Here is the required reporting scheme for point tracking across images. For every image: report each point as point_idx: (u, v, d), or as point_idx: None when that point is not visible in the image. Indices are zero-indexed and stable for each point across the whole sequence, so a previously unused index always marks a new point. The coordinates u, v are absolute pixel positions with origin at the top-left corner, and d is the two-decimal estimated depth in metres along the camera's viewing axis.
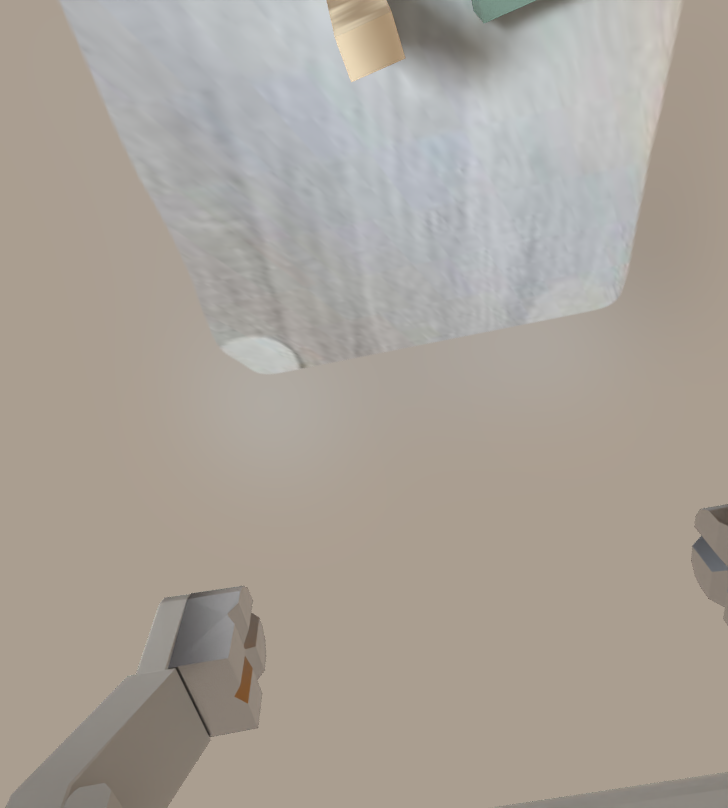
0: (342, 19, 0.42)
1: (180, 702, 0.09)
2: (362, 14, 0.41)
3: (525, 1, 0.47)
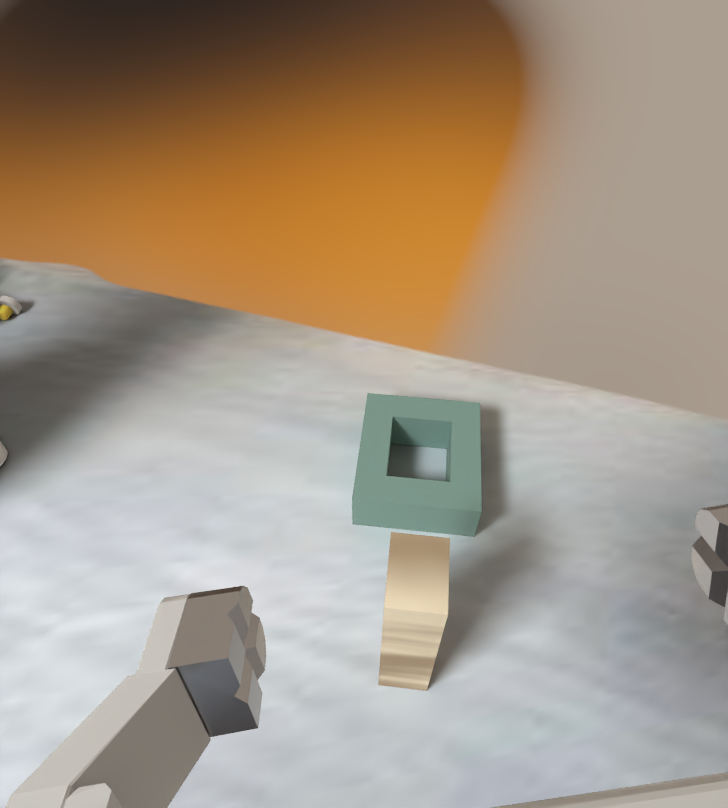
0: None
1: (180, 702, 0.09)
2: None
3: (477, 470, 0.44)
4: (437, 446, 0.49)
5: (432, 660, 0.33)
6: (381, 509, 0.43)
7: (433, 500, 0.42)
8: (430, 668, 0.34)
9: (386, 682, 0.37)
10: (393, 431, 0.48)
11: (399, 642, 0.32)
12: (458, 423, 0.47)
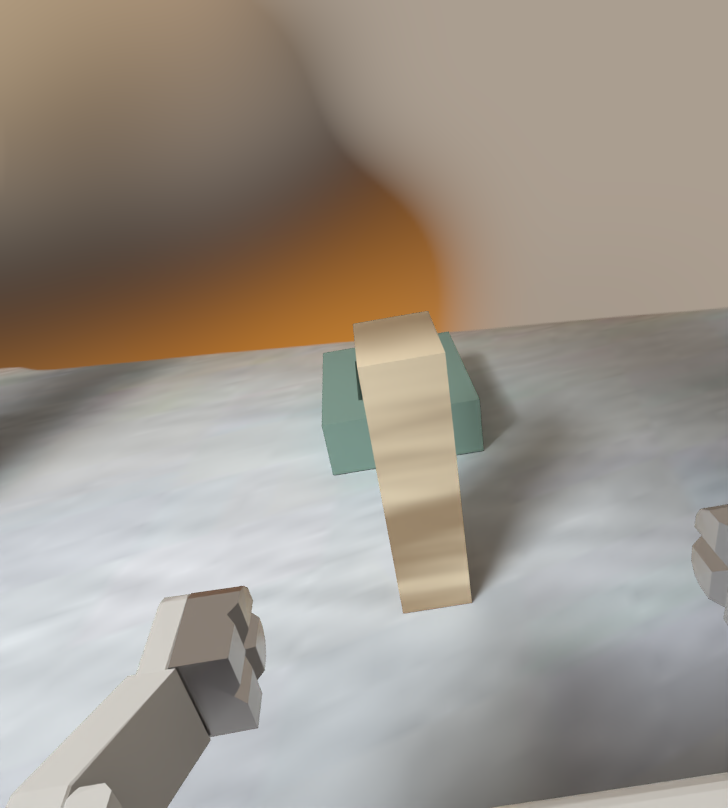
0: None
1: (180, 702, 0.09)
2: None
3: (463, 373, 0.37)
4: None
5: (457, 503, 0.23)
6: (361, 434, 0.35)
7: None
8: (460, 529, 0.24)
9: (412, 601, 0.26)
10: None
11: (401, 467, 0.22)
12: None
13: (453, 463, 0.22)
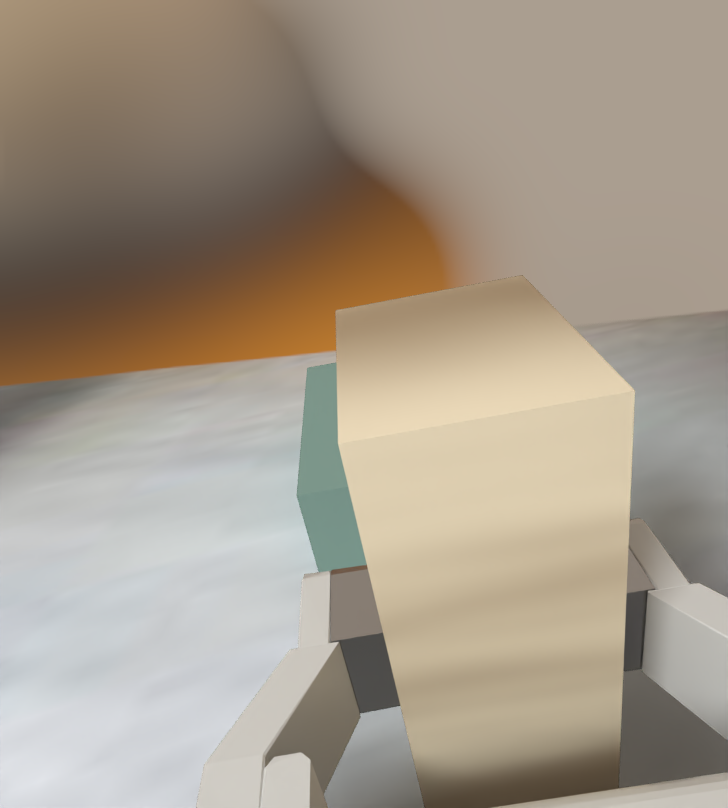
0: None
1: (341, 676, 0.09)
2: None
3: None
4: None
5: (609, 767, 0.09)
6: None
7: None
8: None
9: None
10: None
11: (469, 698, 0.08)
12: None
13: (613, 687, 0.08)
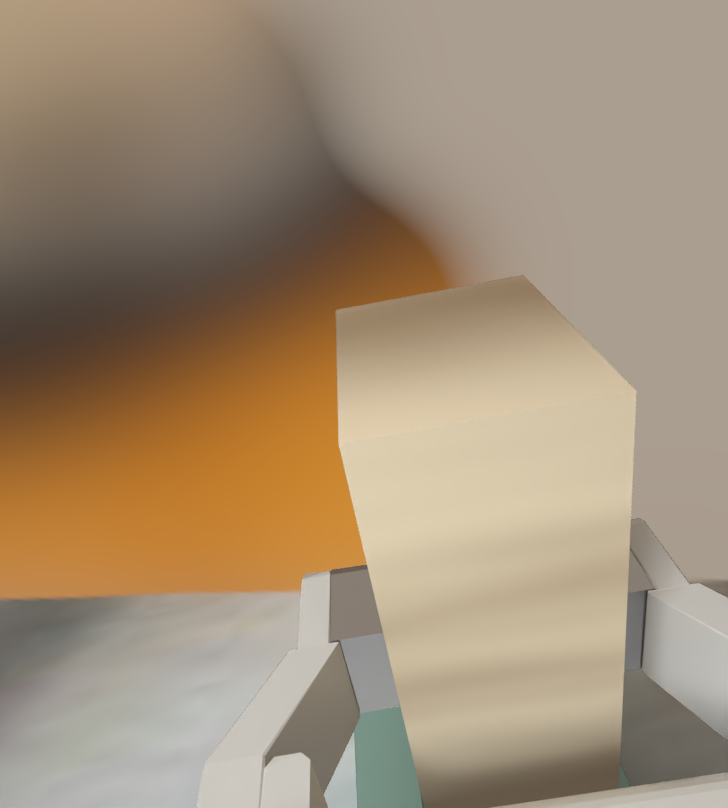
0: None
1: (341, 676, 0.09)
2: None
3: None
4: None
5: (609, 768, 0.09)
6: None
7: None
8: None
9: None
10: None
11: (470, 700, 0.08)
12: None
13: (613, 688, 0.08)
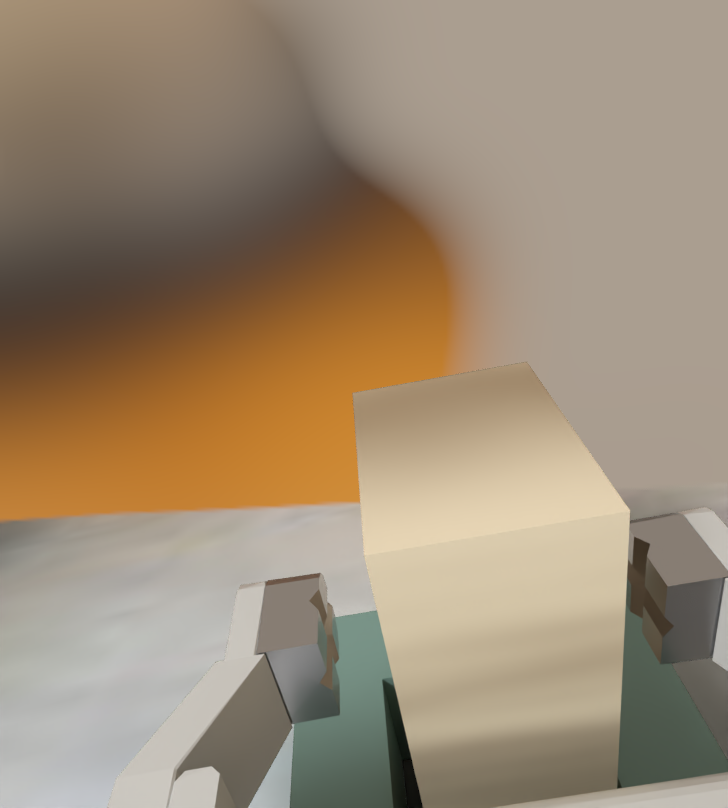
0: None
1: (268, 688, 0.09)
2: None
3: None
4: None
5: None
6: None
7: None
8: None
9: None
10: (398, 723, 0.16)
11: (477, 765, 0.09)
12: None
13: (610, 753, 0.09)
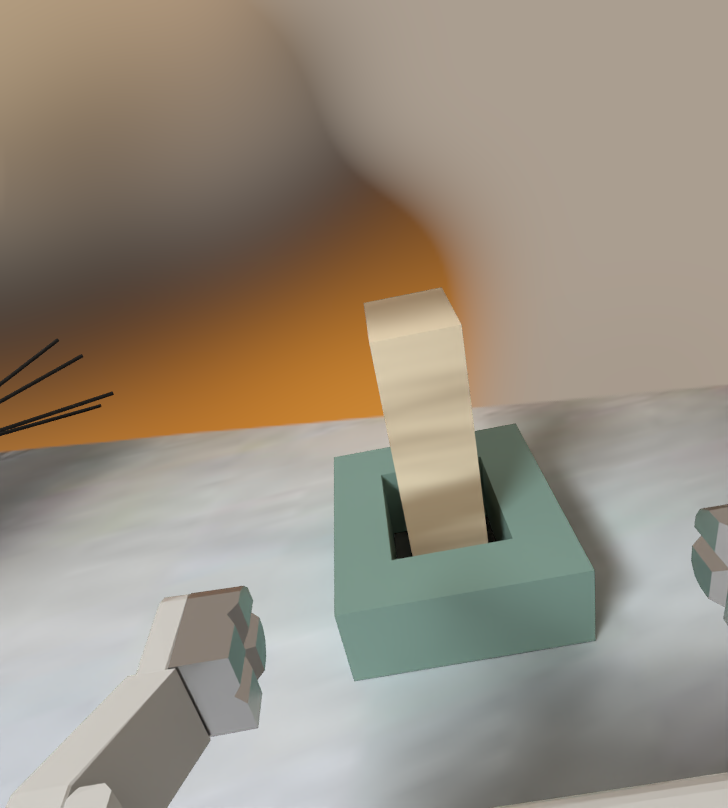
0: None
1: (180, 702, 0.09)
2: None
3: (554, 509, 0.23)
4: None
5: (477, 487, 0.22)
6: (398, 626, 0.21)
7: (493, 576, 0.21)
8: (481, 515, 0.23)
9: None
10: (391, 506, 0.28)
11: (417, 449, 0.21)
12: (492, 455, 0.27)
13: (472, 444, 0.21)
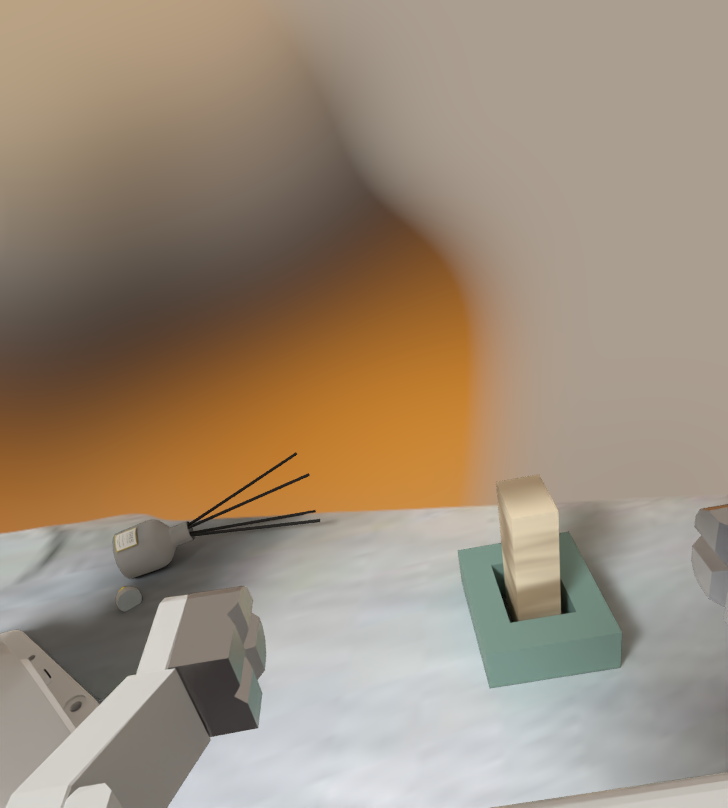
0: (510, 544, 0.40)
1: (180, 702, 0.09)
2: (504, 521, 0.41)
3: (597, 594, 0.42)
4: None
5: (558, 584, 0.41)
6: (518, 659, 0.40)
7: (568, 634, 0.40)
8: (558, 598, 0.42)
9: None
10: None
11: (528, 566, 0.40)
12: None
13: (557, 564, 0.40)
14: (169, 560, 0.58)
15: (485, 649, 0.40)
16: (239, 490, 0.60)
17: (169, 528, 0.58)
